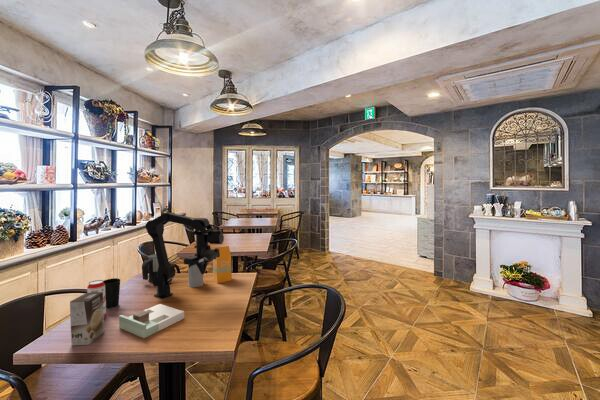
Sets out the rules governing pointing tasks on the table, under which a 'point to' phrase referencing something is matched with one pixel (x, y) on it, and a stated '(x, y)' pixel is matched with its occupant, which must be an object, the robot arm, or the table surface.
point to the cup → (112, 292)
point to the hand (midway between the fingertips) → (202, 274)
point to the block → (141, 316)
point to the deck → (151, 320)
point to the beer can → (98, 287)
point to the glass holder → (194, 276)
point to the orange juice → (222, 266)
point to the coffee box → (86, 318)
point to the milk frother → (150, 268)
